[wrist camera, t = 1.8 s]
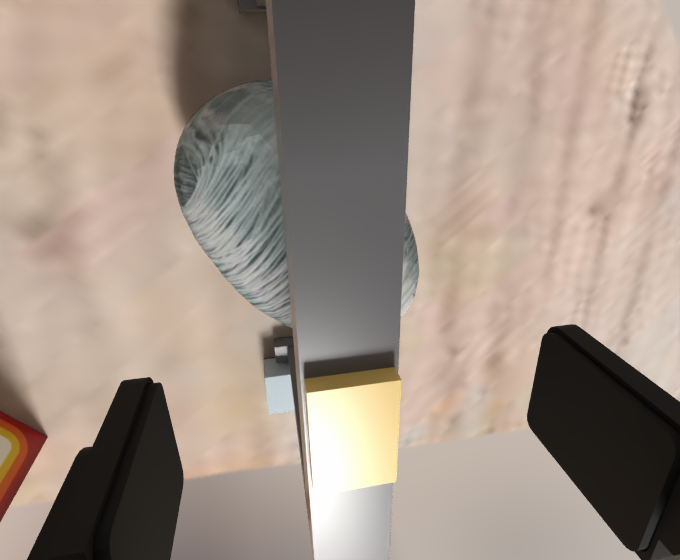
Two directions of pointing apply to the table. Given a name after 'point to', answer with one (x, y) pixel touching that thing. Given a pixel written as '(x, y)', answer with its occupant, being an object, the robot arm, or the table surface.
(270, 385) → the pale blue block pair
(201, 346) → the table surface
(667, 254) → the table surface
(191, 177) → the gray yarn ball
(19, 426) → the baking soda box
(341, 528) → the gray arch frame
